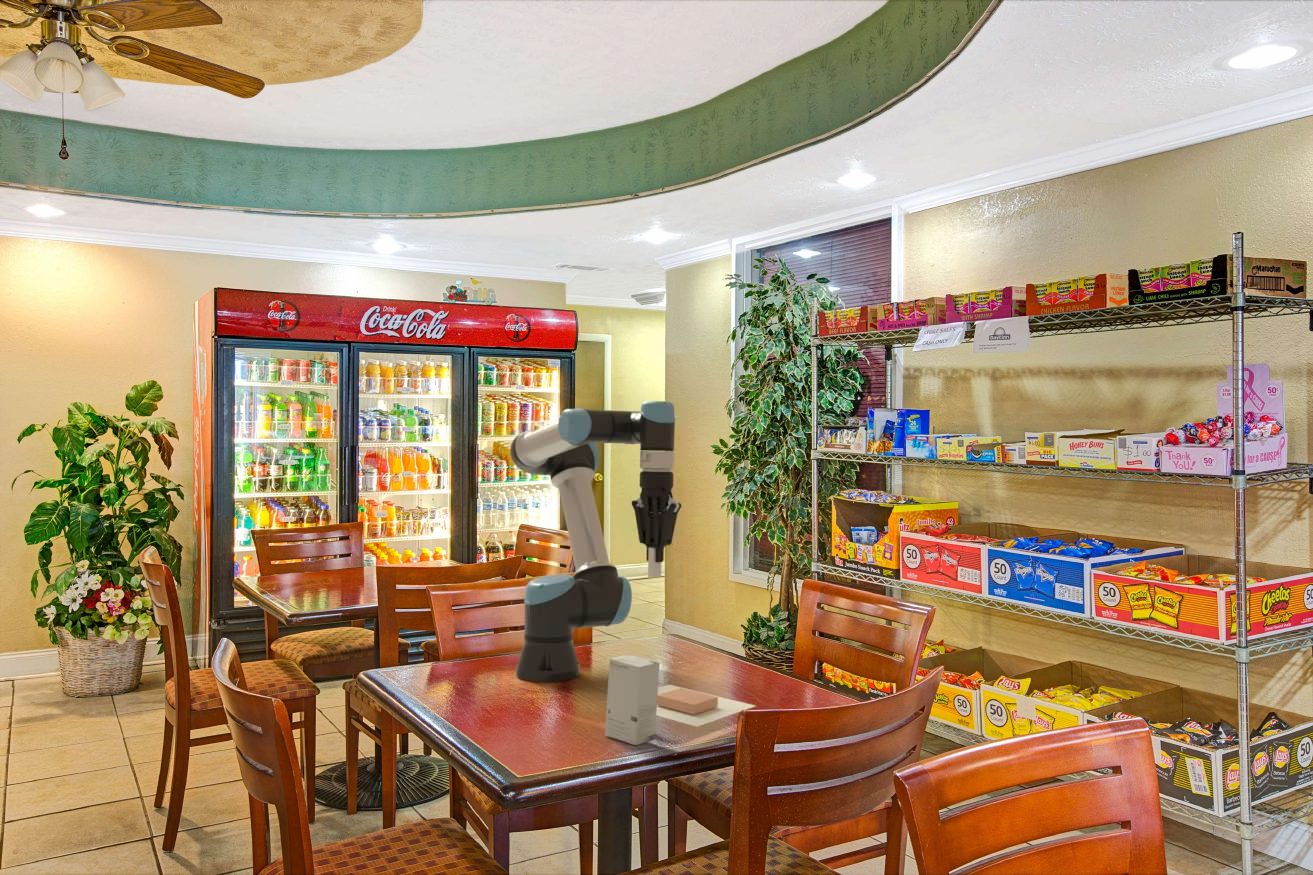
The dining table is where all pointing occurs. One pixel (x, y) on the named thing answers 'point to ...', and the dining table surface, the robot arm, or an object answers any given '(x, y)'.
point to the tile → (687, 701)
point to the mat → (723, 710)
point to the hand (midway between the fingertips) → (654, 576)
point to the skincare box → (632, 699)
